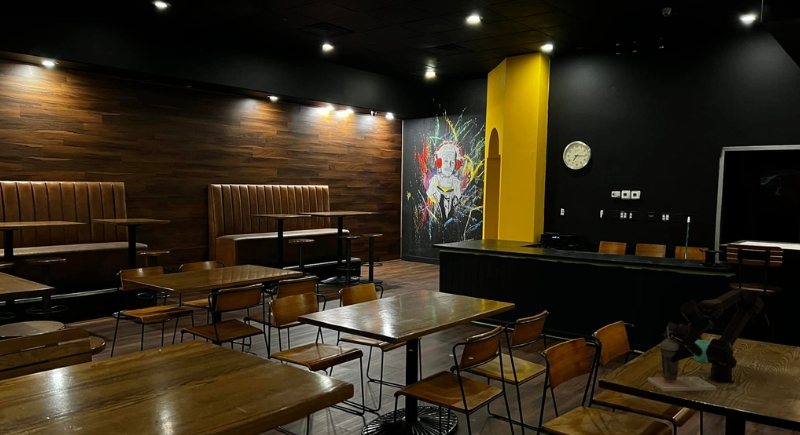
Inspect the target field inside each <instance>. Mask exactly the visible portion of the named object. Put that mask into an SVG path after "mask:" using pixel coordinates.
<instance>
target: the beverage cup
mask: <svg viewBox="0 0 800 435" xmlns="http://www.w3.org/2000/svg"><path fill="white" fill-rule="evenodd" d="M666 328H667V329H666V331H667V334H668V338H667V339H666V338H664V339H663V340H662V342H661V343H660V345H659V346H660V347H659V350H660V354H661V355H662V356H661V355H660V356H661V367H662V376H663V379H665V380H668V381H676V378H677V377H678V370H679V364H680V363H679V362H680V360H679V361H677V362H674V363H672V362H671V359H672V358H673V356H674V355H675V354H676V353H677V351H678V350H679V346H680V344H679V343H678V341H676V340H675V339H673V338H669V331H670V330H669V329H668V327H667V326H666Z"/></svg>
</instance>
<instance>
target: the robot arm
mask: <svg viewBox="0 0 800 435" xmlns="http://www.w3.org/2000/svg"><path fill="white" fill-rule="evenodd" d="M735 304H736V312H735V314H734V315H733V317H732V318H731V320H730V321H729V323H728V325H727V326H726V328H725V329H724V331H723V333H722V334H721V336H720V337H719V338H718V339H717V338H714V337H713V338H711V341H710V344H709V345H708V348H707V350H706V355H707V359H708V362H709V363H708V364H711V367H710V376H708V378H709V379H710V380H712V381H714V382H716V383H719V384H720V383H724V384H725V383H735V380H733V377H732V376H733V369H734V368H735V367H737V364H738V363H737V362H738V361H737V359H736V358H735V356H734V354H735V352H734V347H733V346H734V344H735V343H736V341H737V340H738V338H739V336H740V335H741V333H742V332H743V330H744V328H745V327H746V325H747V324H748V322H749V320H750V319H751V318H753V317H755V316H758V315H759V313H760V312H761V311H762V310H763V308H764V306H765V302H764V301H763V299H762V298H761V297H760V296H757V295H756V294H753V293H751V292H749V291H748V290H746V289H743V288H737V287H735V288H732V289H730V290H729V291H728V292H726V293H724V294H722V295H720V296H718V297H716V298H713V299H706V300H702V301H701V300H700V302H699V303H697V301H696V300H693V299H690V300H689V301H687V302H684V303H683V304H682V305H680V307H679V311H680V313H681V314H682V316H683V317H684V318H685V319H686V320H687V322H688V325H686V324H683V323H678V324H677V323H674V322H672V321H668V324H667V326H666V330H665V331H664V332H663V333H662V335H663V336H664V339H667V338H668V334H667V327H668V329H669V338H673V339H675V340H676V341H678V343H679V344H680V346H679V350H678V351H677V353H676V354H675V355H674V356H673V358H672V359H671V362H672V363H674V362H677V361H679V362H680V361H682V360H685V359H688V358H692V357H694V355H695V356H697V357H700V356H701V355H702V354H703V350H702V349H701V348H700V347H699V346H698V345H697V344H696V343H695V342H696V341H697V340H703V337H702V335H703V334H704V333H705V332H706V331H708V329H712V330H715V325H714V324H715V322H714V321H713V320H711V319H718V318H720V316H722V315H723V313H724V311H725V310H726V309H728V308H730V307H731V306H733V305H735ZM710 318H711V319H710ZM693 354H694V355H693ZM660 356H661V357H662V355H660Z"/></svg>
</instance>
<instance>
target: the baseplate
mask: <svg viewBox="0 0 800 435" xmlns="http://www.w3.org/2000/svg"><path fill="white" fill-rule="evenodd" d="M647 382H649V383H650V384H652V385H653V386H655V387H657V388H658V389H659V390H661V391H663V392H688V391H689V392H691V391H693V392H694V391H695V392H696V391H717V386H715V385H713V384H711V383H710V382H708V381H706V380H704V379H703V378H700V377H699V376H677V378H676V381H668V380H665V379H663V377H662V376H661V377H647Z"/></svg>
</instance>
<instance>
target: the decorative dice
mask: <svg viewBox="0 0 800 435" xmlns="http://www.w3.org/2000/svg"><path fill="white" fill-rule="evenodd" d="M710 342H711V341H710V340H703V339H701V340H699V339H698V340H697V341H696V342H695V343H696V344H697V345H698V346H699V347H700V348H701V349H702V350H703V354H702V355H701V356H700V357H697V356H695V355H694V354H693V355H694V357H691V358H692V359H693V360H694V361H696V362H698V363H703V364H710V363H709V362H708V359H707V355H706V350H707V348H708V345H709V344H710Z"/></svg>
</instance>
